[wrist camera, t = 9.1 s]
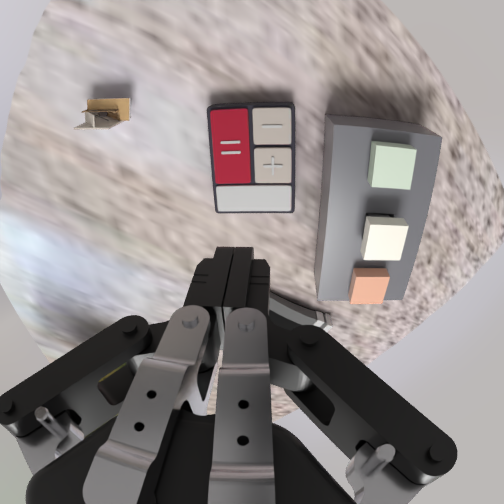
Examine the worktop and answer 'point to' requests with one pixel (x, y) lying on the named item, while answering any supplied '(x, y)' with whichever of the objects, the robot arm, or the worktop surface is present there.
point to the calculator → (253, 156)
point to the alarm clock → (295, 315)
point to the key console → (368, 201)
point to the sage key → (391, 165)
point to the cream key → (383, 237)
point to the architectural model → (115, 113)
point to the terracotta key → (368, 285)
